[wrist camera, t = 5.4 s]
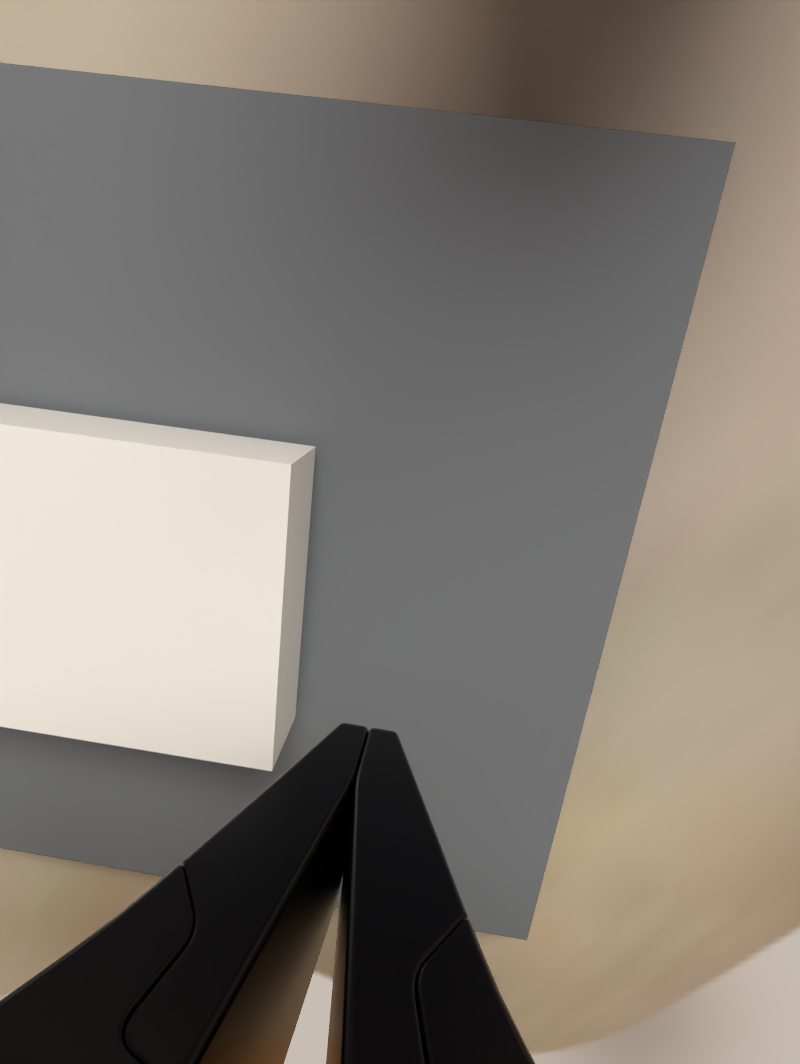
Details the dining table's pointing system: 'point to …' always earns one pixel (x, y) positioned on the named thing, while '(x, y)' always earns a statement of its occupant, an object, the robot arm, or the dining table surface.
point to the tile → (151, 584)
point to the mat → (363, 417)
